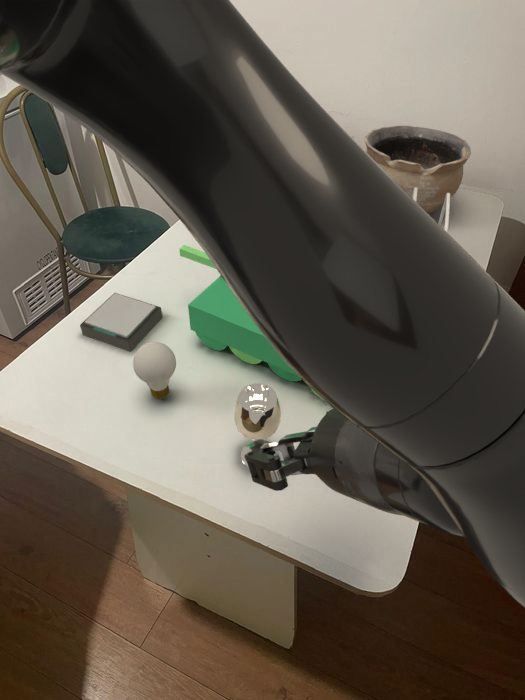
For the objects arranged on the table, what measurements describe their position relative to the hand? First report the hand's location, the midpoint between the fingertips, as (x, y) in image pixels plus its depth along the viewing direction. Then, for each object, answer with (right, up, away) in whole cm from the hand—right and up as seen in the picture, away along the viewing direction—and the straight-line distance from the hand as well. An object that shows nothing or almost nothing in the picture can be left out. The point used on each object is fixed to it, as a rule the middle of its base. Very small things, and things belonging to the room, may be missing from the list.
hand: (295, 434), depth 53 cm
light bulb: (-19, +2, +24) cm, 30 cm away
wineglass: (-4, -6, +16) cm, 18 cm away
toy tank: (-2, +11, +34) cm, 36 cm away
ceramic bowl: (+29, +42, +66) cm, 83 cm away
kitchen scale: (-27, +13, +35) cm, 46 cm away
